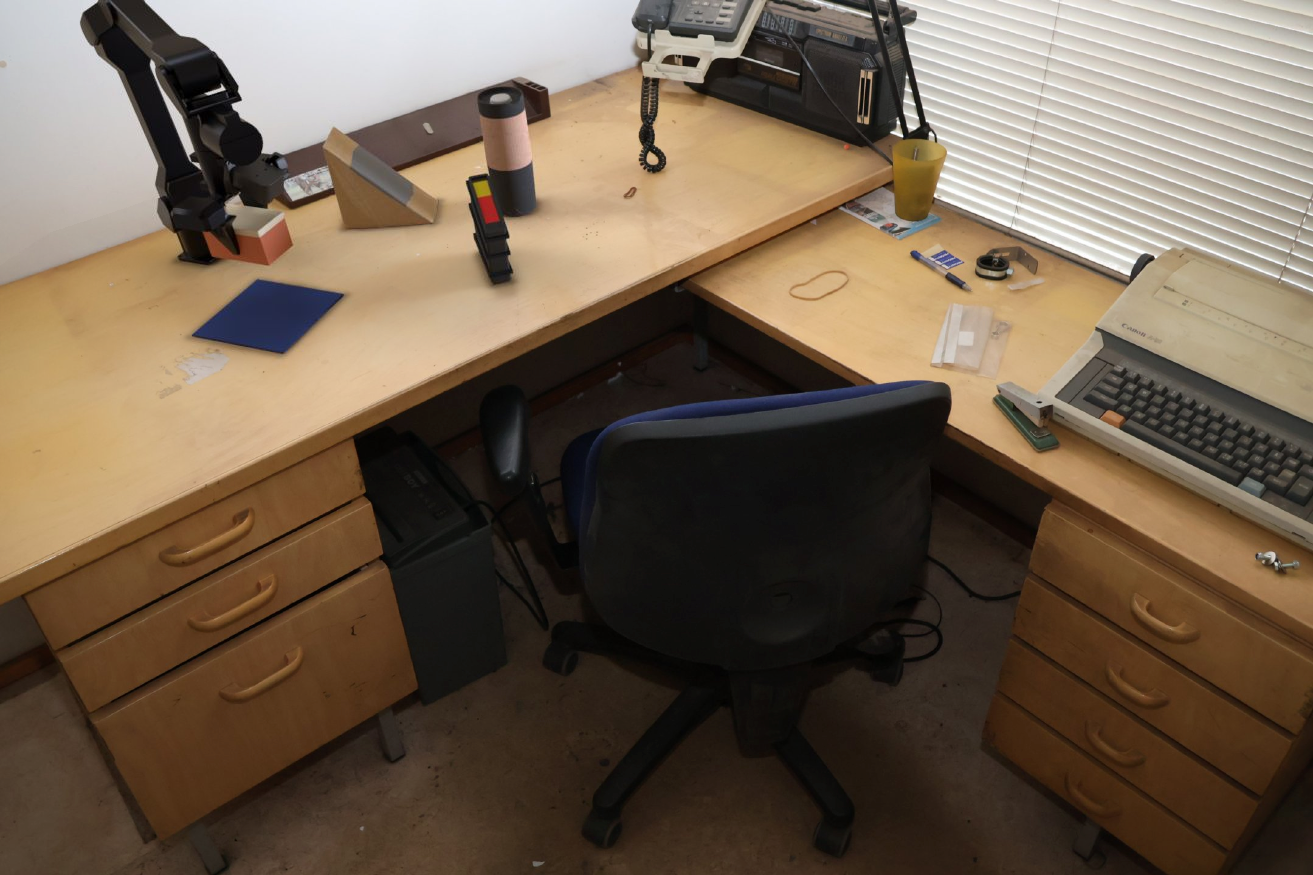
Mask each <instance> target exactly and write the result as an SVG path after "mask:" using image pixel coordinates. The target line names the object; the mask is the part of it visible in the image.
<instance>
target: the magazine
mask: <svg viewBox="0 0 1313 875" xmlns="http://www.w3.org/2000/svg"><path fill="white" fill-rule="evenodd" d="M465 185H466V189H467V192H468V194H469V195H468V196H469V197H470V198H469V199H470V202H468V210H469V212H470V215H471V218H472V221H473V226H474V227H473V228H474V232H472V236H473V240H474V243H475V245H476V247H477V250H478V253H479V256H480V258H481V261H482V263H483V265H484V268H485V270H486V272H487V276H488V278H489V279H490V281H491V283H492V285H498V284H503V283H508V282H511V281H512V274H514V269H513V267H512V265H511V262H510V259H509V256H511V255H512V252H511V249H510V246H509V244H508V240H509V239H510V238H511V237H510V233H509V230H508V226H507V224H506V221H505V216H503V214H502V211H501V208H500V205H499V202H498V199H497V196H496V193H495V190H494V187H493V184H492V181H491V178H490V176H489V173H486V172H484V173H480V174H475V175H470V176H468V179H467V180H465Z"/></svg>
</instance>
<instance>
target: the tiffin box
mask: <svg viewBox="0 0 1313 875" xmlns="http://www.w3.org/2000/svg"><path fill="white" fill-rule="evenodd" d="M226 209H227V212H228V214H229V215H236V219H235V220H234V222H233V224H232V225H233V228H234V232H235V235H236V238H237V241H238V245H239V249H240V255H233V254H232V253H231V252H230V251H229V250H228V249H227V248H226V247H225V246H224V245H223V244H222V243H221V242H220V241H219V240H218V239H216V238H215V237H214V236H213V235H212V234H211V233H210V232H203V234H204V236H205V239H206V242H207V244H208V247H209V249H210V252H211V255H212V257H218V258H217V259H225V260H230V261H237V262H242V263H243V262H244V263H249V264H256V265H260V266H261V265H262V266H268V267H269V266H271V265H272V264H273V263H274V262H276V261H277V260H278V259H279V258H281V257H282V256H283V255H284V254H285V253H286V252H288V250H290V249H291V248H292V247H293V246H294V243H293V241H292V240H293V239H292V237H291V233H290V230H289V227H288V225H287V221H286V215H285V212H284V211H282V210H276V209H269V208H268V209H264V208H257V207H250V206H244V205H243V204H236V203H230V202H228V203H227V204H226Z"/></svg>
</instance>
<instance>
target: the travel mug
mask: <svg viewBox="0 0 1313 875" xmlns="http://www.w3.org/2000/svg"><path fill="white" fill-rule="evenodd" d="M476 100H477V102H476V103H477V108H478V113H479V120H480V121H479V123H480V128H481V134H482V141H483V147H484V155H485V161H486V167H487V172H488V175H489V176H490V178H491V181H492V184H493V187H494V190H495V193H496V196H497V199H498V202H499V205H500V208H501V211H502V214H503V217H509V218H517V217H523V216H526V215H529V214H531V213H532V212H533V211H535V210H536V208H537V194H536V184H535V175H534V164H533V155H532V148H531V140H530V134H529V126H528V119H527V113H526V112H527V111H526V105H525V98H524V92H523V91H522V90H521V89H520V88H517V87H515V86H508V85H506V86H503V85H502V86H501V85H500V86H495V87H494V86H493V87H489V88H487V89H484V90H481V92H479V93H478V94H477V97H476Z"/></svg>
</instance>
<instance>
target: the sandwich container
mask: <svg viewBox="0 0 1313 875" xmlns="http://www.w3.org/2000/svg"><path fill="white" fill-rule="evenodd" d="M322 151H323V155H324V159H325V162H326V165H327V166H326V167H327V169H328V173H329V176H330V180H331V183H332V186H333V191H334V194H335V198H336V201H337V205H338V209H339V212H340V215H341V218H342V222H343V226H344V229H346V230H347V229H349V230H351V229H369V228H387V227H401V226H402V227H403V226H413V225H427V224H428V225H429V224H434V221H435V218H436V215H437V212H438V206H439V200H438V199H437V198H435V197H434V196H432V195H430V194H429V193H428V192H426V191H425V190H424V189H422V188H420V187H419V186H418V185H416V184H415V183H413V182H412V181H410V180H409V179H408V178H406V177H405V176H403V175H402V174H400V173H399V172H398V171H397V170H395V169H393V168H392V167H390V165H388V164H387V163H385V162H383V161H382V160H381V159H380V158H378V157H376V155H373V154H372V153H371V152H370V151H368V150H367V149H365V148H364V147H363V146H362V145H360V144H359V143H357V142H356V141H354V140H353V139H352V138H351V137H349V136H347V134H345V133H343V132H342V131H341V130H340V129H338V128H337V127H336V126H332V127H331V129H330V131H329V133H328V135H327V138H326V140H325V141H324V143H323V145H322Z"/></svg>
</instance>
